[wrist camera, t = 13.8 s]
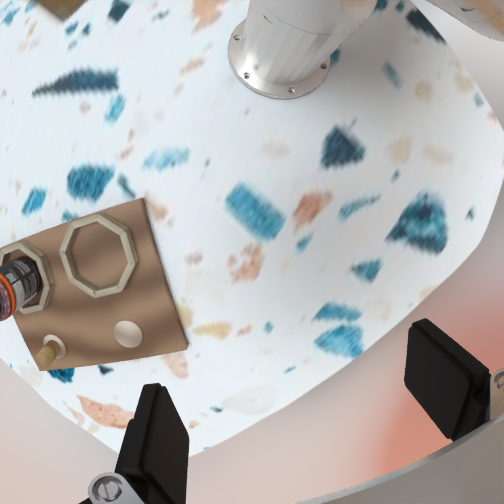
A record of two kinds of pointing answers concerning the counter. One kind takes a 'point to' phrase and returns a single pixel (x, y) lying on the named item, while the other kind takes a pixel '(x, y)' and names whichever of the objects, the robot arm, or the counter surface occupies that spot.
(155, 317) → the board
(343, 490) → the robot arm
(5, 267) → the supplement bottle
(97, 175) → the counter surface
